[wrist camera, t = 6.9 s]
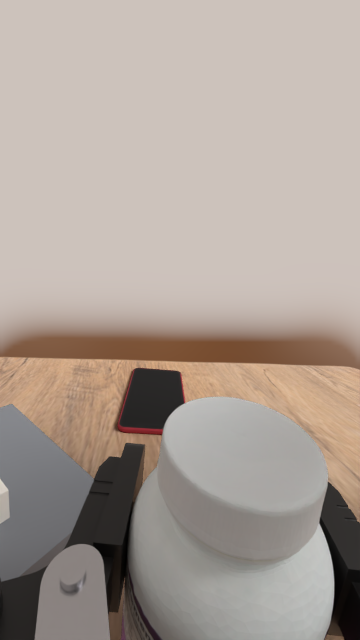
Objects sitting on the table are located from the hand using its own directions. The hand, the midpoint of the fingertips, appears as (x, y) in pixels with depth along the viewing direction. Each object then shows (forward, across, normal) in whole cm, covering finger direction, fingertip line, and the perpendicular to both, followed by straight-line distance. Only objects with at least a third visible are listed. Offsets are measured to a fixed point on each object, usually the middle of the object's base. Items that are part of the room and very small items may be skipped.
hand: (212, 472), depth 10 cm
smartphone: (+22, +4, +10) cm, 24 cm away
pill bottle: (-3, 0, +6) cm, 7 cm away
